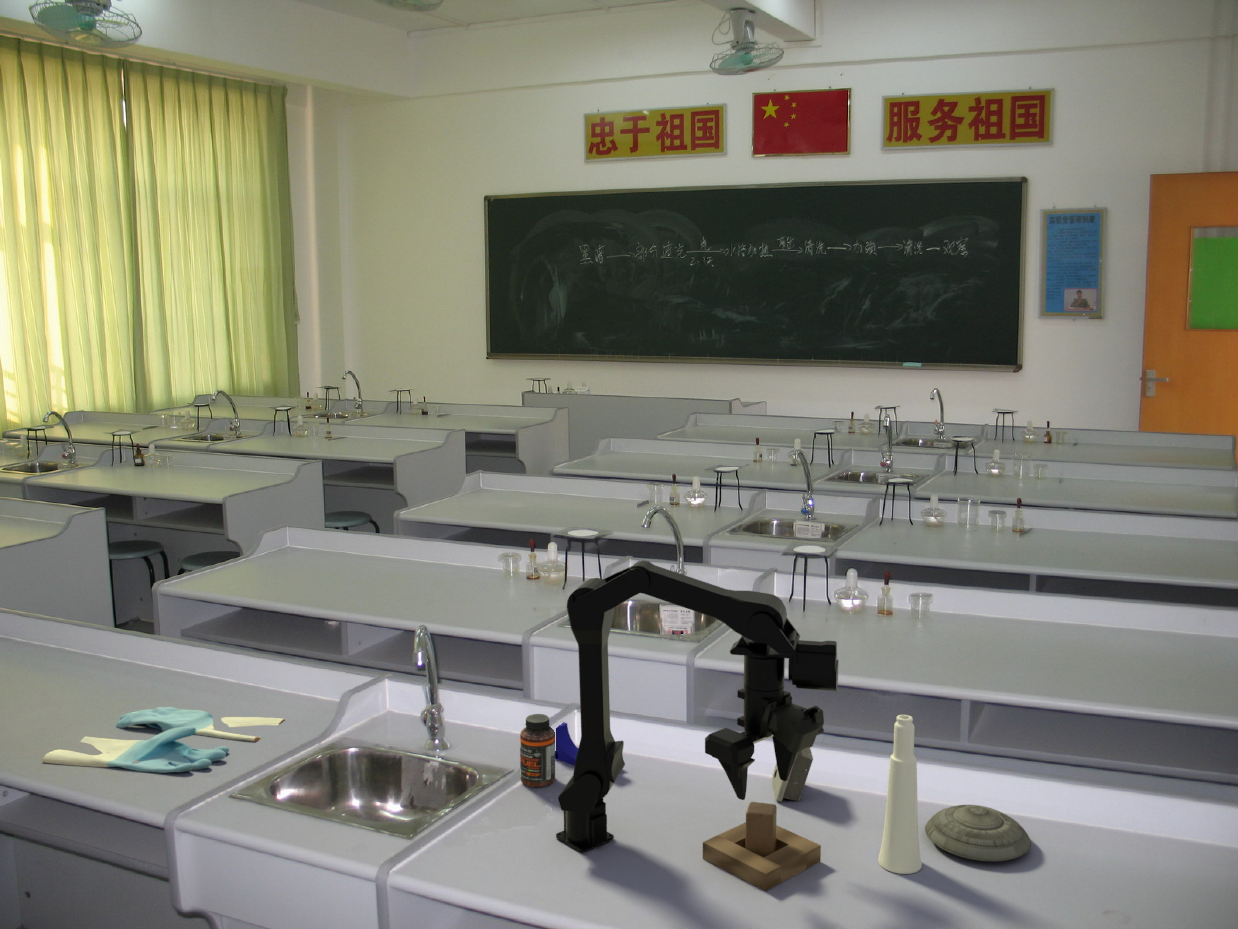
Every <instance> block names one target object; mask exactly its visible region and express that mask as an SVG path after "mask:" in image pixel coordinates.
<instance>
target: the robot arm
mask: <svg viewBox="0 0 1238 929" xmlns="http://www.w3.org/2000/svg"><path fill="white" fill-rule="evenodd" d="M639 594H643V595H647V596H649V597H652V598H656V599H657V600H661V601H664V602H667V603H670V604H672V605H676V606H678V607H682V608H685V609H688V610H690V611H694V612H696V613H698V614H702V615H705V616H708V617H711V618H713V619H716V620H719V621H720V622H721V623H723V624H725V625H726V626H727V627H728V628H730V629H731V630H732V631H733V632H734V633H736V634H739V635H740V638H739V639H737V641H735V642H734V643H733V644H732V646H731V648H730V650H729V653H730V655H734V656H743V688H741V689H738V690H737V696H736V697H737V698H738V699H742V700H743V715H741V716H739V717H737V718H736V720H737V721H736V724H737V726H740V727H741V728H743V730H744V731H742V732H739V731H736V730H734V729H731V728H728V727H724V728H722V729H719V730H717V731H713V732H710V733H709V734H708V735H707V736H705V738H704V754H706V755H709V756H711V757H712V758H714V759H717V760H718V762H719V763H720V765H721V767H722V769H723V770H724V772H725V774H726V776H727V778H728V780H729V781H728V782H729V783H730V784H731V787H732V788H733V791H734V793H735V795H736V797H737V799H739V800H741V801H744V800H745V799H746V795H747V787H748V784H747V783H748V770H749V767H750V766H751V765H752V764H753V763H755V761H756V759H755V758H752V757H753V755H754V753H755V744H757V743H759V742H762V741H764V740H767V739H770V738H772V744H773V749H774V754H775V755H774V756H775V761H776V762H775V763H777V769H778V773H779V777H780V779H781V780H783V781H787V780H788V777H789V774H790V771H791V769H792V766H793V763H794V760H795V757H796V755H797V753H798V752H800V751H801V750H803V749H805V748H808V747H809V748H810V749H811V748H812V747H813V746H814V744H815V742H816V738H817V736H818V735H821V734H823V733H824V732H825V729H824V725H825V719H824V718H825V717H824V710H822V708H820V707H819V706H818V705H814V706H812V707H809V708H806V707H803V706H800V705H798V704H795V703H793V697H792V695H791V692H789V691H786V690H785V671H786V670H785V668H786V667H785V663H786V662H785V660H786V659H788V667H787V668H788V671H787V672H788V676H787V677H788V681H791V685H792V686H795V688H796V689H803V690H813V691H814V690H815V691H816V690H818V691H829V692H838V686H839V685H838V684H839V666H840V664H839V662H840V661H839V659H838V642H837V641H836V640H824V641H819V640H818V641H817V640H816V641H815V640H803V639H800V638H801V635H800V633H799V632H798V630H797V629H796V628H795V627H794V625H793V624H792V623H791V621H790V619H789V618H788V616H787V615H788V612H787V608H786V606H785V604H784V602H783V600H782V599H781V598H780V597H779V596H777V595H774V594H771V593H766V592H760V591H754V590H734V589H727V588H723V587H720V586H718V585H715V584H712V583H709V582H706V581H703V580H700V579H696V578H694V577H691V576H688V575H686V574H682V573H679V572H677V571H674V570H670V569H667V568H664V567H661V566H658V565H656V564H654V563H652V562H651V561H649V560H643V559H642V560H638V561H636V562H635V563H634V564H633V565H631V566H628V567H626V568H624V569H622V570H620V571H617V572H616V573H615V572H614V573H613V574H611V575H609V576H607V577H605V578H600V577H592V578H591V577H590V578H589V579H587V580H585V581H584V582H583V583H582V584H581V585H579V586H578V587H576V589H575V590H573V592H572V593H571V594H570V595H569V596H568V598H567V601H566V611H567V615H568V617H567V618H568V621H569V625H570V629H571V632H572V635H573V636H574V638H575V641H576V643H577V649H578V650H577V651H578V672H579V673H578V674H579V675H578V676H579V707H580V708H579V709H580V710H579V711H580V712H579V713H580V741H579V745H578V747H577V748H578V752H577V756H576V760H575V766H574V765H573V773H572V776H571V778H570V779H569V780H568V782H567V783H566V785H565V786H564V787H563V789H562V790H561V792H560V793H559V795H558V796H557V800H558V801H557V802H558V803H559V806H560V810H561V811H563V830H562V831H559V832H557V833H556V834H555V838H556V839H558V840H559V841H561V842H563V843H564V844H567V845H568V846H569V847H572V848H573V849H575V850H576V851H578V852H580V853H584V852H588V851H589V850H592V849H593V848H597V847H598V846H601V845H603V844H605V843H608V842H610V841H613V840H614V838H615V836H614V834H612V833H611V832H609V831H608V816H607V807H606V806H607V803H606V802H605V801H604V798H605V797H606V796H607V795H608V794H609V793H610V790H611V788H612V787H613V785H614V784H615V782H616V780H618V777H619V776H620V774H621V773H622V770H623V769H624V767H625V766H626V763H625V761H624V756H623V750H624V740H615V738H614V736H613V734H612V730H611V712H610V710H611V708H610V706H611V704H610V680H609V679H610V674H609V673H610V672H609V671H610V670H609V646H608V645H609V643H608V642H609V637H610V632H611V628H612V625H613V621H614V618H615V610H616V609H615V608H616V607H617V606H619V605H621V604H622V603H624V602H626V601H627V600H630V599H631V598H634V597H635V596H637V595H639Z"/></svg>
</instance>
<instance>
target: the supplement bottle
mask: <svg viewBox="0 0 1238 929" xmlns="http://www.w3.org/2000/svg"><path fill="white" fill-rule="evenodd" d="M524 725H525V727H524V728H523V729H522V730H521V731H520V734H519V735H520V736H519V745H520V746H519V747H520V748H519V753H520V755H519V759H520V760H519V764H520V769H519V772H520V775H519V776H520V781H521V783H522V784H523V785H525V786H527V787H531V788H543V787H547V786H550V785H551V784H553V783H554V782H555V780H556V759H555V732H554V730H553V729H552V728H551V727H550V726H551V725H550V717H549V715H547V714H545V713H544V714H543V713H534V714H533V713H532V714H529V715H528V716H526V717H525V724H524Z"/></svg>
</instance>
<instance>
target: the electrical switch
mask: <svg viewBox="0 0 1238 929" xmlns="http://www.w3.org/2000/svg"><path fill="white" fill-rule="evenodd" d="M813 761H814V756H813V754H812V750H811V747H810V748H809V747H808V748H805V749H803V750H801V751H800V752H798V753H797V755H796V757H795V760H794V763H793V766H792V769H791V771H790V774H789V777H788V780H787V781H783V780H781V779H780V777H779V773H778V769H777V762H775V766H774V769H773V773H772V778H771V779H772V780H771V781H772V784H773V791H774V797H775V801H776V802H777V801H778V802H779V803H782V801H783V799H787V800H792V801H795V802H800V800H801V797H802V793H803V791H804V789H805V788H804V787H805V784H806V782H807V779H808V775H809V773H810V769H811V767H812V764H813Z"/></svg>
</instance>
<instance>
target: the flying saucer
mask: <svg viewBox="0 0 1238 929" xmlns="http://www.w3.org/2000/svg"><path fill="white" fill-rule="evenodd" d="M924 831H925V834H926V836H927V838H928V839H929V841H931V842H932V843H933V844H934V845H935V846H937V847H938V848H940V849H941V850H943V851H946V852H948V853H950V854H953V855H955V856H957V857H960V858H964V859H969V860H973V861H979V862H1003V861H1005V862H1006V861H1011V860H1014V859H1017V858H1020V857H1021V856H1023V855H1025V854H1027V852H1028V851H1029V850H1030V848H1031V847H1032V846H1031V845H1032V841H1031V838H1030V836H1029V833H1027V831H1026V830H1025V828H1024V827H1023V826H1022V825H1021V824H1020V823H1019V822H1018V821H1017V820H1015V819H1014V818H1013V817H1011V816H1009V815H1008V814H1006V813H1004V812H1002V811H1000V810H997V809H994V808H992V807H988V806H984V805H977V804H960V805H959V804H958V805H953V806H949V807H946V808H943V809H941V810H939V811H938V812H936V813H935V814H933V815H932V816H931V817H930V818H929V820H927V822H926V824H925V826H924Z"/></svg>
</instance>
